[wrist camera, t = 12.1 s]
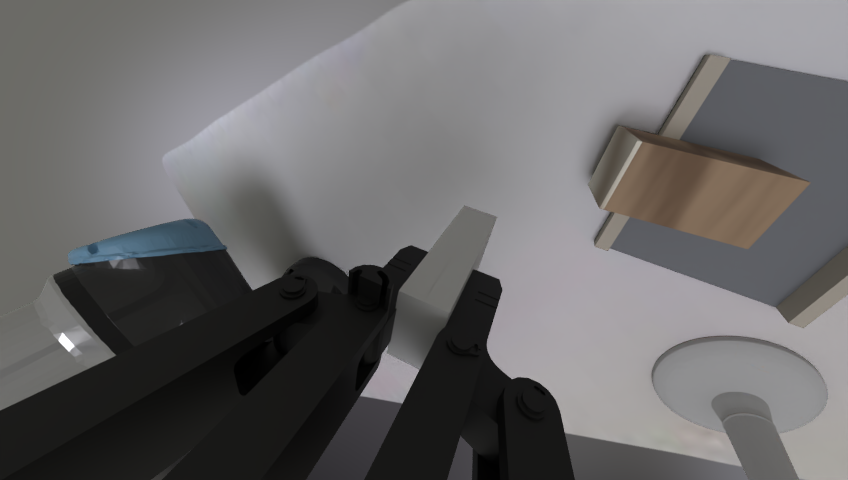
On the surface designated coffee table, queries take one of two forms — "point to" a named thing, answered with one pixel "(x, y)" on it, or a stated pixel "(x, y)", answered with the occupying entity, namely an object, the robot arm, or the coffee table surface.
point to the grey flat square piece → (779, 146)
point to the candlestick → (743, 396)
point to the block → (692, 187)
